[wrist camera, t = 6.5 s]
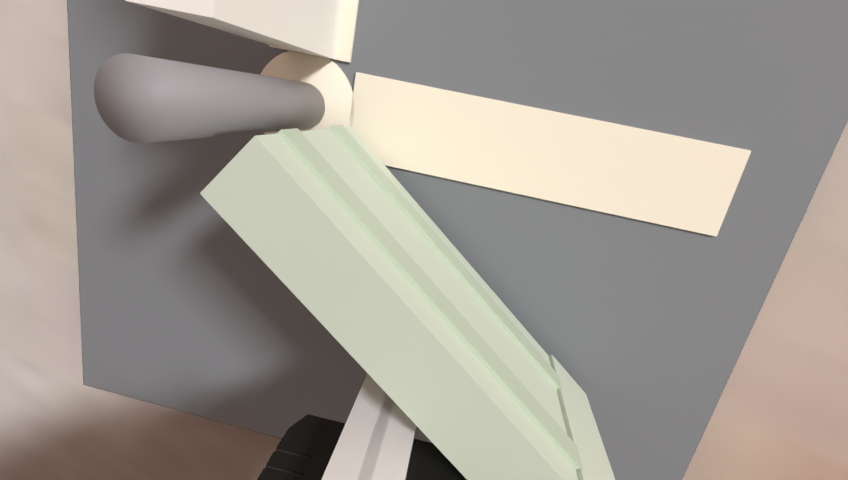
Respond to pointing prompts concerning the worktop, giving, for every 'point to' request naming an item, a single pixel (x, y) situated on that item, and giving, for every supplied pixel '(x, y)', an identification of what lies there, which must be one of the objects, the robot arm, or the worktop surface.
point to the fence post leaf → (219, 75)
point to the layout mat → (480, 197)
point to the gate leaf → (408, 306)
